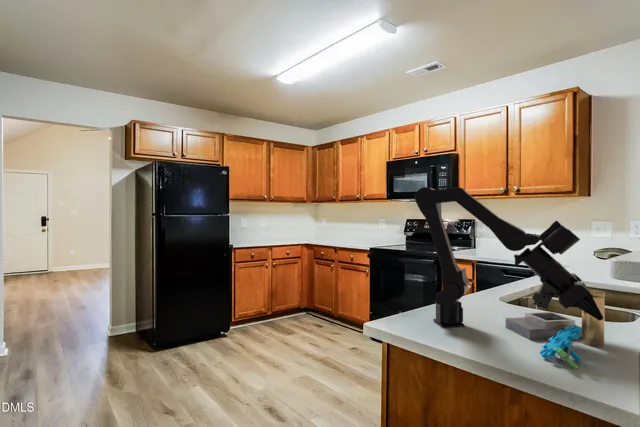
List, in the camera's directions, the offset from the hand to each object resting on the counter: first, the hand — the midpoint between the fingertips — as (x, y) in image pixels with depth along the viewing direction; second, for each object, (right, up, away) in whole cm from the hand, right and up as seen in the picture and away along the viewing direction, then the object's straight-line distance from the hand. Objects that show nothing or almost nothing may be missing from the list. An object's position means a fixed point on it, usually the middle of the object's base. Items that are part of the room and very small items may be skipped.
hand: (600, 316), depth 90 cm
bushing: (-1, -7, +1) cm, 7 cm away
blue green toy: (-15, -7, -9) cm, 19 cm away
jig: (-8, -7, +10) cm, 14 cm away
